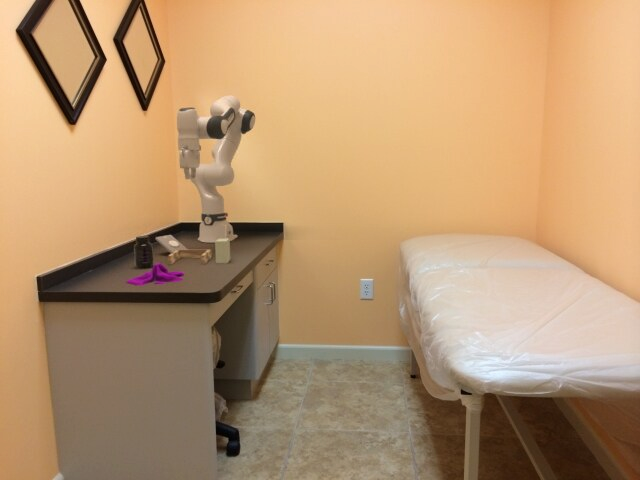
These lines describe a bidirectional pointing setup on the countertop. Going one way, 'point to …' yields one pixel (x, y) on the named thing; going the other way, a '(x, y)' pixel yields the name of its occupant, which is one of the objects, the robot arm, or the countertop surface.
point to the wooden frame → (190, 255)
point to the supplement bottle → (143, 252)
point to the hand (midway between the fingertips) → (190, 178)
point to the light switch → (170, 243)
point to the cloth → (157, 276)
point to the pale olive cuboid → (222, 250)
